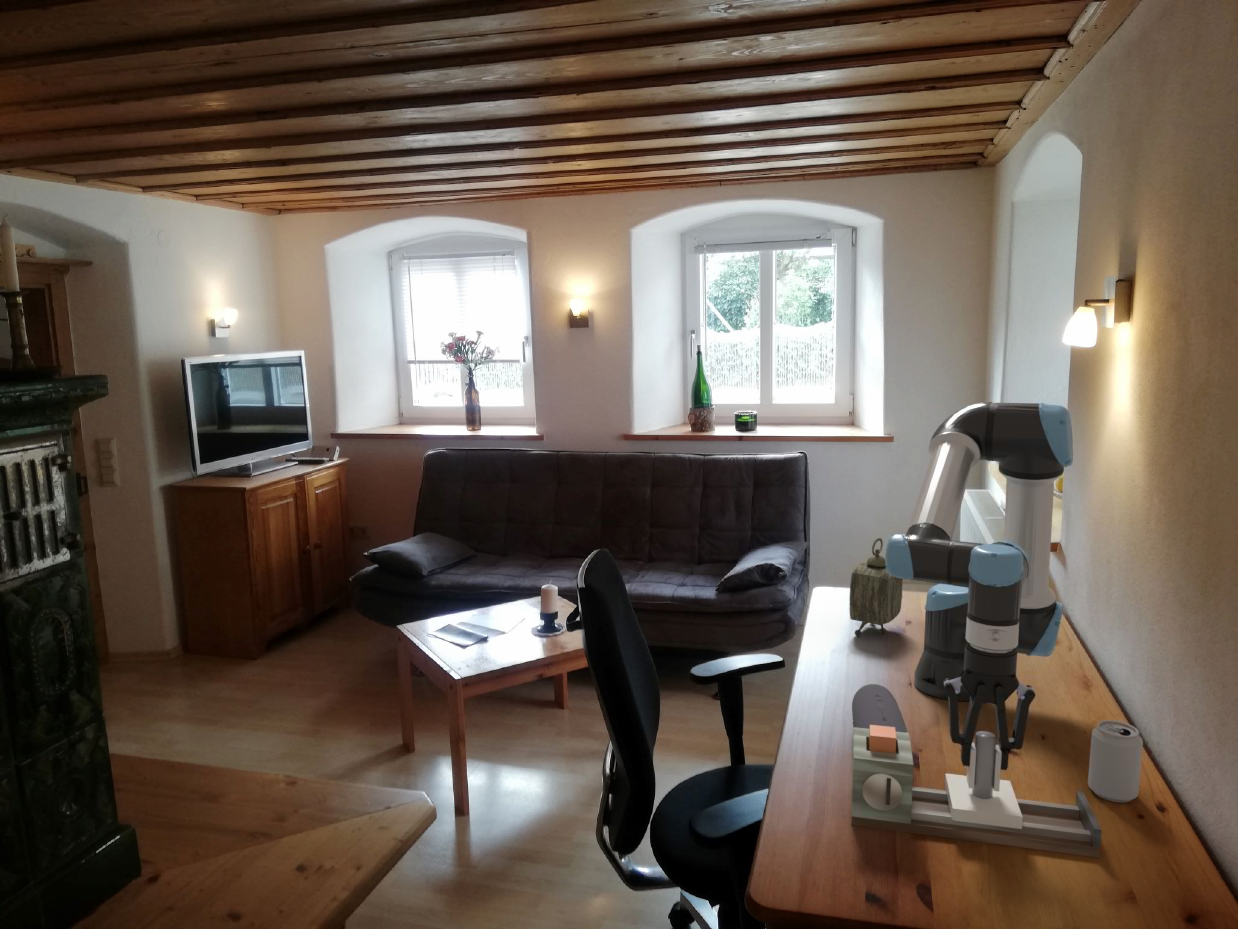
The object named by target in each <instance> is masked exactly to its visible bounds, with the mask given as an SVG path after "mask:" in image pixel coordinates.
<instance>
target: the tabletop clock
mask: <svg viewBox="0 0 1238 929" xmlns="http://www.w3.org/2000/svg"><path fill="white" fill-rule="evenodd" d="M878 542H880V548H876V549H875V547H876V544H877V543H878ZM883 544H884V542H883V539H882V538H881V537H877V538H876V539H874V541H873V543H872V546H871V553H872V555H871V556H869V557H868V559H867V560H865V561H863V562H861V563H859V564H858V565H857V566H855V568H853V570H852V572H851V577H850V587H849V619H850V620H852V621H856V622H861V624H860V626H859V628H858V629H855V631H854V635H855V636H857V637H859V636H861V635H862V629H863V628H864V627H865V626H866V625H867V624H871V625H877V626H880V629H879V632H880V634H882V635H885V634H886V633H887V629H886V628H884V625H885V624H889V623H890V622H892V621H893V620H894V619H896V618H897V617H898V615H899V614H900V612H901V610H902V603H903V602H902V601H903V600H902V599H903V597H902V596H903V580H904V579H902V578H897V577H893V576H890V575H889V574H888V572H887V570H886V564H885V557H884V556H881V555H880V553H881V552H882V549H883V546H884V545H883Z"/></svg>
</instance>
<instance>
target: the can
mask: <svg viewBox="0 0 1238 929" xmlns="http://www.w3.org/2000/svg"><path fill="white" fill-rule="evenodd" d="M1139 731H1140V730H1139V729H1138V728H1136V726H1133V725H1132V724H1129V723H1127V722H1123V721H1119V720H1113V719H1112V720H1111V719H1106V720H1105V719H1104V720H1101V721H1098V722H1097V723H1096V727H1094V728H1093V729H1092V731H1091V739H1090V752H1089V753H1090V754H1089V763H1088V764H1089V765H1088V766H1089V767H1088V777H1087V784H1088V787H1089V788H1090V789H1091V791H1092V792H1093V793H1094V794H1095V795H1097V796H1098V797H1100V798H1102V799H1104V800H1106V801H1110V802H1112V803H1113V802H1114V803H1128V802H1131V801H1132V800H1134V799H1136V798H1138V795H1139V792H1140V790H1139V789H1140V781H1141V769H1142V767H1141V765H1142V757H1143V748H1144V747H1143V746H1144V741H1143V738H1142V737H1141V736H1140V732H1139Z"/></svg>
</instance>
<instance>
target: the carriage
mask: <svg viewBox="0 0 1238 929" xmlns="http://www.w3.org/2000/svg"><path fill="white" fill-rule="evenodd" d="M974 738H975V739H974V741H975V742H974V745H975V748H976V763H975V780H974V789H972V788H969V787H968V783H967V775H962V774H954V773H945V777H944V787H945V790H946V793H947V798H948V803H949V808H950V812H951V817H952V820H954V821H962V822H970V823H977V824H985V825H993V826H1001V827H1009V828H1017V829H1022V818H1023V817H1022V814H1021V811H1020V808H1019V805H1018V802H1017V799H1018V798H1017V797H1016V794H1015V791H1014V789H1013V785H1012V783H1011V780H1005V779H1000V786H999V791H994V789H993V779H994V763H995V747H996V745H997V736H996V735H995V734H994V733H993V732H990V731H986V730H981V731H980V730H979V731H975V734H974Z"/></svg>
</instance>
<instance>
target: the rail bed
mask: <svg viewBox="0 0 1238 929" xmlns="http://www.w3.org/2000/svg"><path fill="white" fill-rule="evenodd" d="M852 730H853V733H852V734H853V735H852V761H851V762H852V764H851V766H852V767H851V789H850V790H851V791H850V793H851V794H850V796H851V797H850V799H851V800H850V802H851V805H850V806H851V808H850V811H851V813H850V814H851V816H850V818H851V823H850V825H851V826H858V827H866V828H873V829H881V830H887V831H895V832H902V833H904V832H905V833H910V834H916V835H917V834H918V835H925V836H934V837H939V838H940V837H941V838H942V837H943V838H947V839H948V838H949V839H957V840H963V841H972V842H978V843H987V844H994V845H1002V846H1009V847H1016V848H1023V849H1024V848H1025V849H1032V850H1039V851H1047V852H1054V853H1062V854H1070V855H1077V856H1083V857H1084V856H1086V857H1093V858H1100V857H1101V856H1100V855H1101V854H1100V853H1101V844H1102V843H1101V842H1102V834H1103V832H1102V827H1101V825H1100V823H1099V821H1098V820H1097V818H1096V815H1095V813H1094V811H1093V809H1092V807H1091V805H1090V803H1089V801H1088V799H1087V797H1086V795H1085V793H1084V791H1077V790H1076V791H1075V793H1076V794H1075V801H1074V802H1075V803H1074V805H1072V804H1071V805H1070V804H1063V803H1054V802H1047V801H1046V802H1045V801H1038V800H1029V799H1023V798H1021V799H1020V798H1016V799H1017V802H1018V805H1019V808H1020V811H1021V814H1022V817H1023V818H1022V829H1017V828H1009V827H1001V826H993V825H985V824H977V823H970V822H962V821H954V820H952V817H951V812H950V808H949V803H948V798H947V793H946V789H945V790H944V789H938V788H937V789H935V788H927V787H922V786H921V787H918V786H913V785H914V784H913V782H914V781H913V780H914V759H913V757H914V756H913V751H912V746H911V745H912V744H911V737H910V736H911V735H910V732H907V733H904V732H896V754H893V753H884V752H875V751H869V732H870V729H866V728H856V727H854V728H853V729H852Z"/></svg>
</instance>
